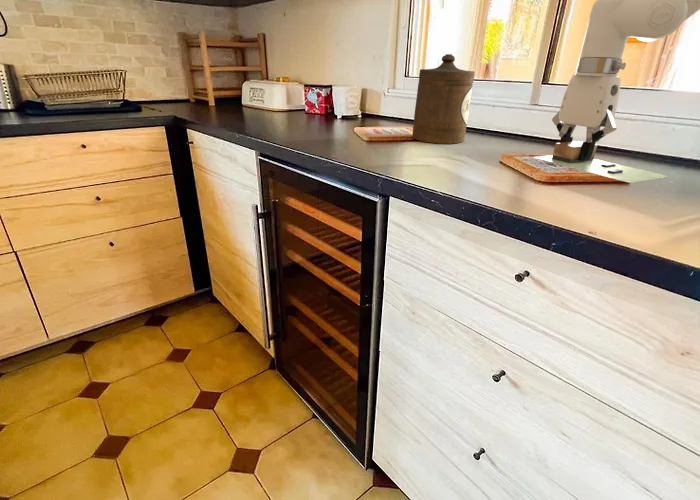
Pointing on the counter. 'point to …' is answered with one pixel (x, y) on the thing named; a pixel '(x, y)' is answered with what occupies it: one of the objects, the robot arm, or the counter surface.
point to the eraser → (570, 152)
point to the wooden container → (442, 103)
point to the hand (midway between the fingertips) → (573, 156)
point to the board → (596, 168)
